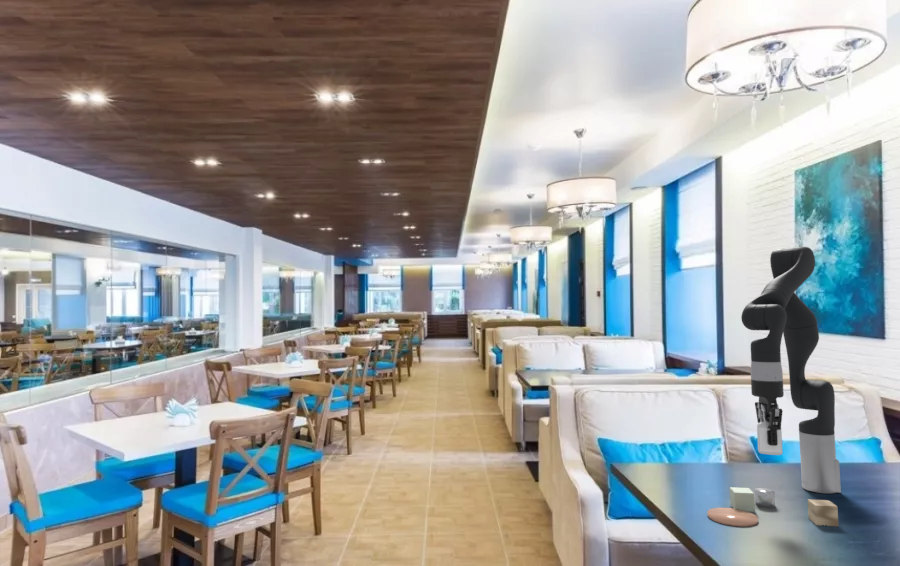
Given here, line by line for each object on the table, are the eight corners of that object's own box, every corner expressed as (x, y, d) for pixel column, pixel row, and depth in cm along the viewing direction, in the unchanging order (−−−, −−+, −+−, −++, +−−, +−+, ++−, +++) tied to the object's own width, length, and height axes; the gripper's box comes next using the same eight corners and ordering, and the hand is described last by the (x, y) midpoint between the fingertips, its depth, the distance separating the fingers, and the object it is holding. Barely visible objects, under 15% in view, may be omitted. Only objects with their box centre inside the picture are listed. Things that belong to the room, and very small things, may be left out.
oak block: (829, 519, 146) (828, 500, 146) (838, 526, 141) (837, 506, 142) (808, 518, 147) (807, 499, 148) (816, 525, 142) (815, 505, 143)
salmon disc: (749, 511, 152) (749, 508, 153) (764, 528, 141) (764, 524, 141) (702, 509, 155) (702, 506, 155) (713, 525, 143) (713, 521, 143)
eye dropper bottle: (778, 456, 145) (775, 410, 146) (755, 452, 150) (753, 407, 151) (785, 454, 148) (782, 408, 149) (762, 450, 152) (760, 406, 153)
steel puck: (771, 502, 160) (770, 488, 160) (777, 508, 155) (777, 493, 155) (752, 501, 161) (751, 487, 161) (758, 507, 156) (757, 492, 156)
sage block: (749, 506, 158) (748, 488, 158) (755, 512, 153) (754, 493, 153) (730, 505, 159) (729, 487, 159) (735, 511, 154) (734, 492, 154)
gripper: (792, 381, 143) (796, 450, 141) (772, 376, 156) (775, 438, 155) (760, 381, 144) (763, 448, 143) (743, 375, 158) (746, 437, 157)
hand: (769, 443), depth 149 cm, fingers closed on eye dropper bottle, 3 cm apart
